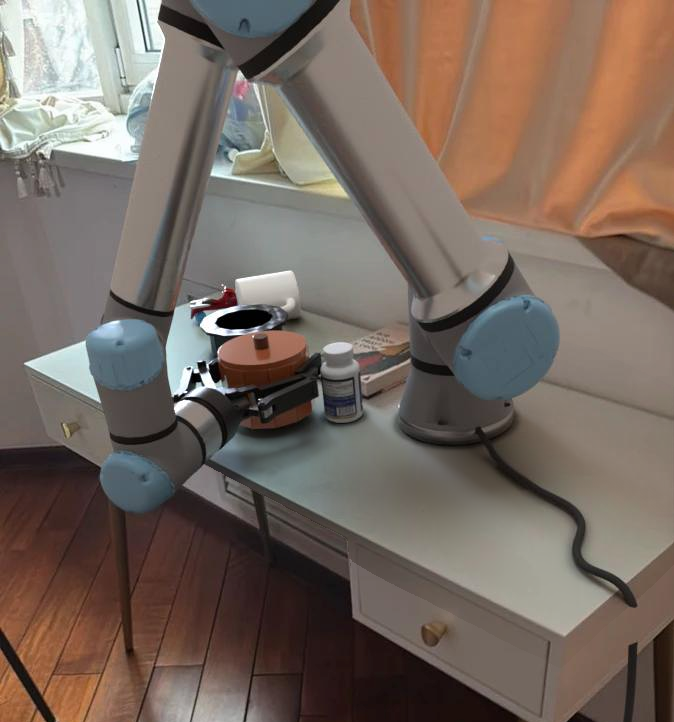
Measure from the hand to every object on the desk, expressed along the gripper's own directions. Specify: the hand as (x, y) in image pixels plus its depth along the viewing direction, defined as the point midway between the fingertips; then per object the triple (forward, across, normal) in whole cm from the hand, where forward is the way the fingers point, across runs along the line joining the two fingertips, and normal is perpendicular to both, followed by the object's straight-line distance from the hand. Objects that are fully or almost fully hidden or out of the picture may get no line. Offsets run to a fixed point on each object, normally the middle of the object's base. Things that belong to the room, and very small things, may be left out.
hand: (276, 358), depth 118 cm
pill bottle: (0, +10, -8) cm, 12 cm away
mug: (+31, -17, -8) cm, 36 cm away
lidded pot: (-3, 0, -6) cm, 7 cm away
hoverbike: (+31, -27, -8) cm, 42 cm away
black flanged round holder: (+18, -15, -7) cm, 25 cm away
